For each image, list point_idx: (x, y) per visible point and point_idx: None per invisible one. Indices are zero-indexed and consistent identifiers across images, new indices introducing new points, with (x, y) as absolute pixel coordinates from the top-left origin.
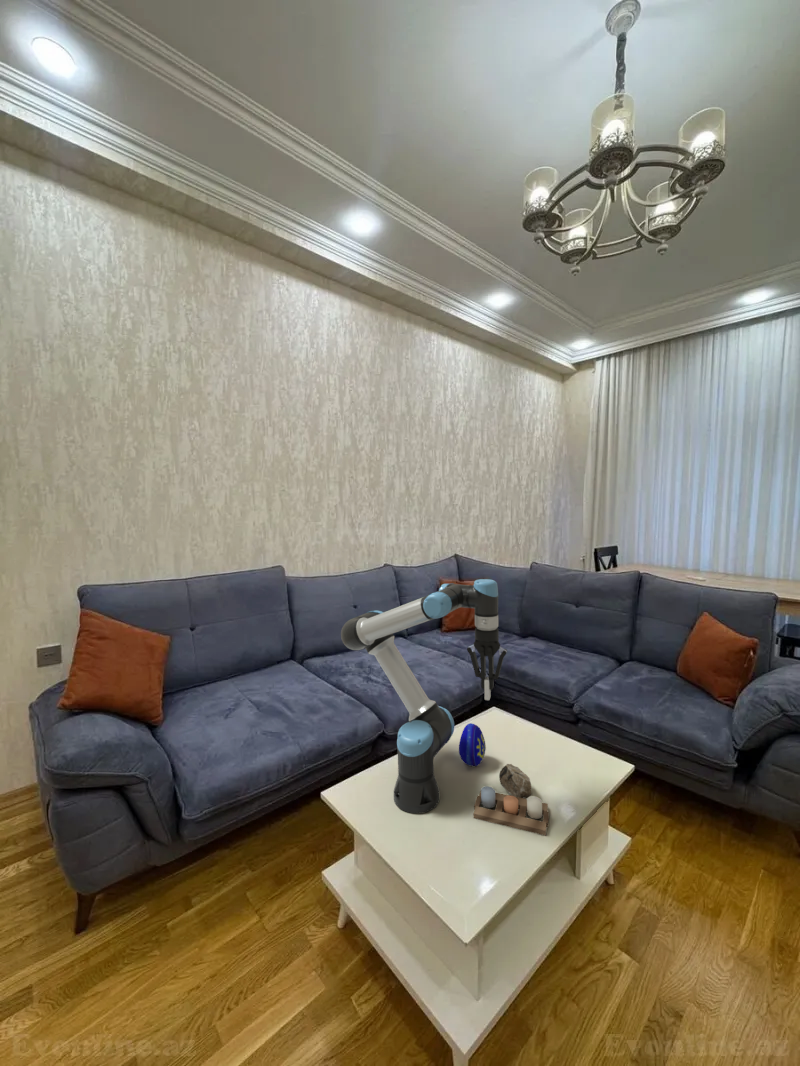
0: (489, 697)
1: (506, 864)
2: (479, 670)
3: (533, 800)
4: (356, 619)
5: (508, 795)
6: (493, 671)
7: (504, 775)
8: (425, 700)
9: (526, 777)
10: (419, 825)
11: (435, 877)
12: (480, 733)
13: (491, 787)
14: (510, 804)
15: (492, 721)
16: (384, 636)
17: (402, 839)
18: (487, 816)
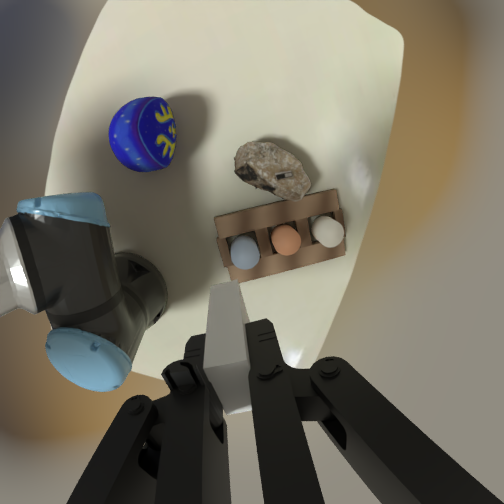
0: (248, 319)
1: (306, 326)
2: (148, 435)
3: (329, 234)
4: None
5: (279, 232)
6: (300, 419)
7: (251, 181)
8: (7, 288)
9: (299, 172)
10: (173, 334)
11: None
12: (154, 120)
13: (247, 243)
14: (290, 254)
15: None
16: None
17: (172, 361)
18: (256, 278)
